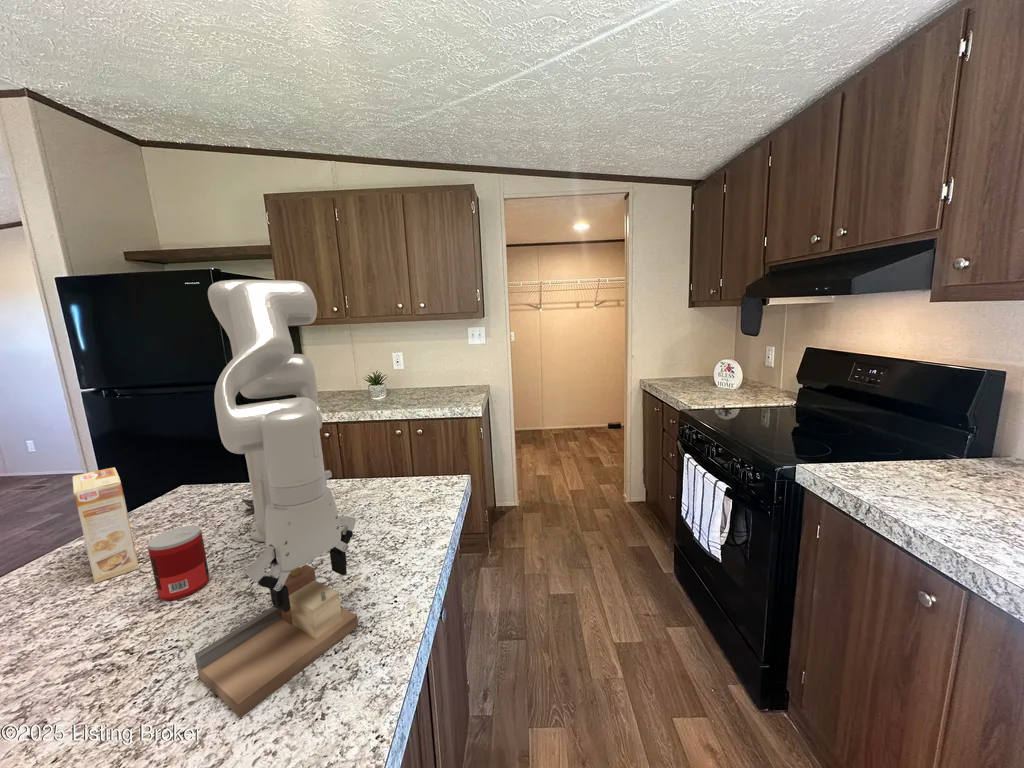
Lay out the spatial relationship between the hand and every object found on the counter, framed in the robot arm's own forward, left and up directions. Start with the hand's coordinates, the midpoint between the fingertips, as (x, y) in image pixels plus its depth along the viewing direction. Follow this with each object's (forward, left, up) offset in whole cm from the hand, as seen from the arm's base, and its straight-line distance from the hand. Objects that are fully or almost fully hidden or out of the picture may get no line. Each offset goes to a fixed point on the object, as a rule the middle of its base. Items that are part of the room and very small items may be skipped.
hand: (312, 589), depth 66 cm
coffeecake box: (-59, -10, -8) cm, 61 cm away
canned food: (-34, -6, -8) cm, 36 cm away
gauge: (-1, 0, -6) cm, 6 cm away
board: (-1, -5, -8) cm, 9 cm away
